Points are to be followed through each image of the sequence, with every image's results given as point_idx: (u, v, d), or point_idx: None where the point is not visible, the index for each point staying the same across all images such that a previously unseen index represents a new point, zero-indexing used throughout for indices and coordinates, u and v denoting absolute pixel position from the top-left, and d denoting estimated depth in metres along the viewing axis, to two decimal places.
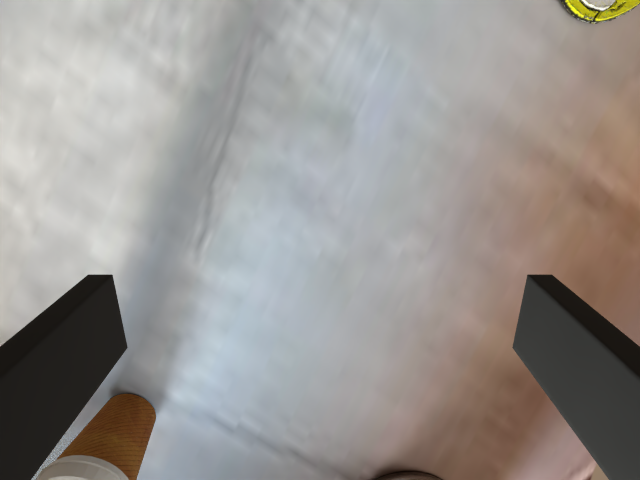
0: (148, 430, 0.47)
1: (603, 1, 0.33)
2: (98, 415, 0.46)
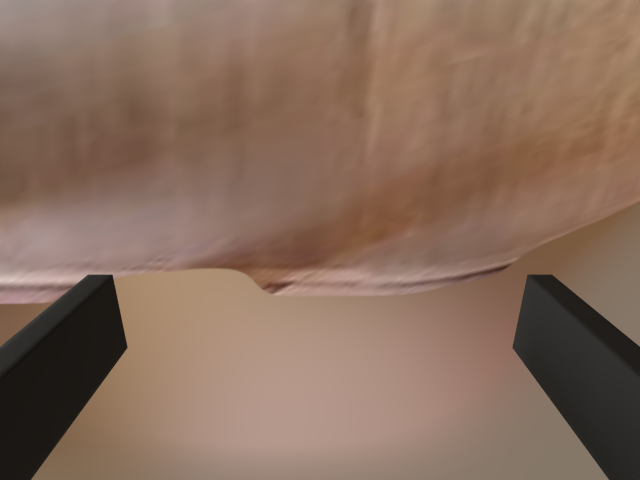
0: None
1: None
2: None
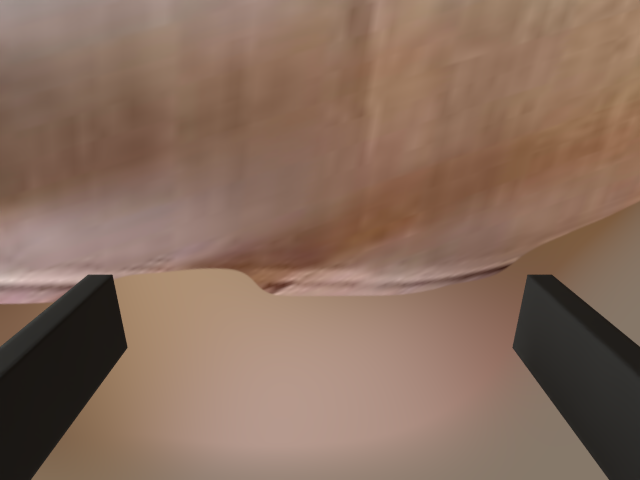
0: None
1: None
2: None
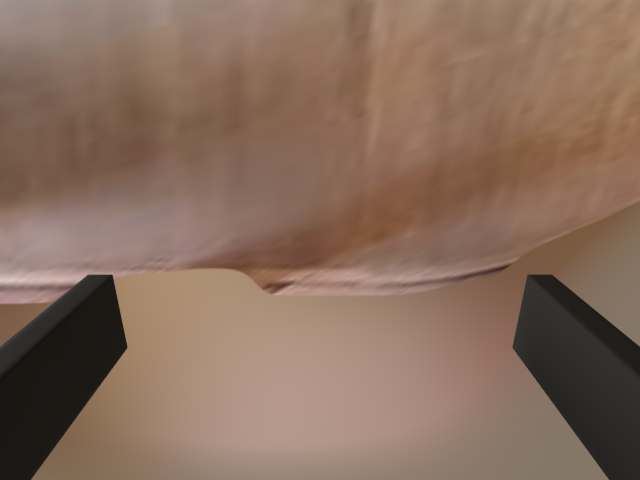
0: None
1: None
2: None
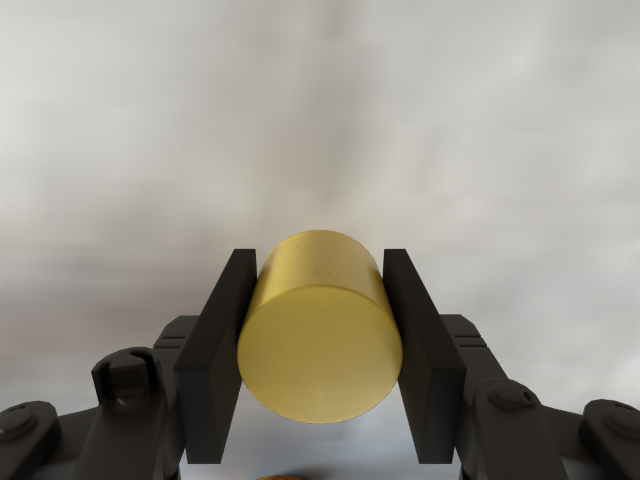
0: None
1: None
2: None
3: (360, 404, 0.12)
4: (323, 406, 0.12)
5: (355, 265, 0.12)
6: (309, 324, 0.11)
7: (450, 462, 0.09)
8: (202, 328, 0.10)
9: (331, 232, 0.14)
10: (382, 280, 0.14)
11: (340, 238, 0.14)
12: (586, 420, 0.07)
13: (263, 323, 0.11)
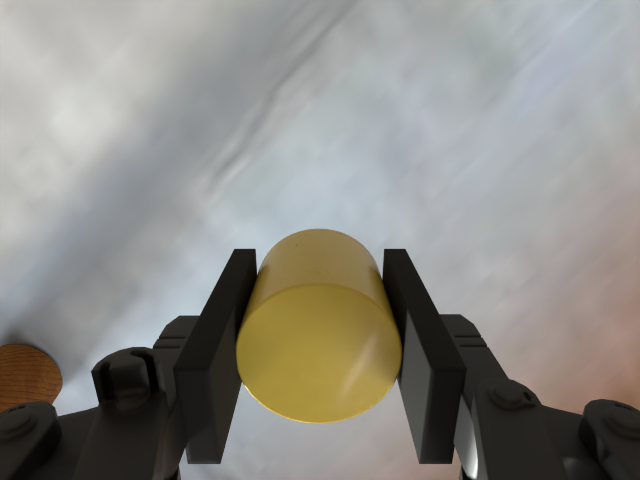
0: None
1: None
2: None
3: (359, 404, 0.12)
4: (322, 405, 0.12)
5: (354, 263, 0.12)
6: (307, 323, 0.11)
7: (450, 462, 0.09)
8: (202, 328, 0.10)
9: (330, 231, 0.14)
10: (381, 279, 0.14)
11: (339, 237, 0.14)
12: (586, 420, 0.07)
13: (261, 322, 0.11)
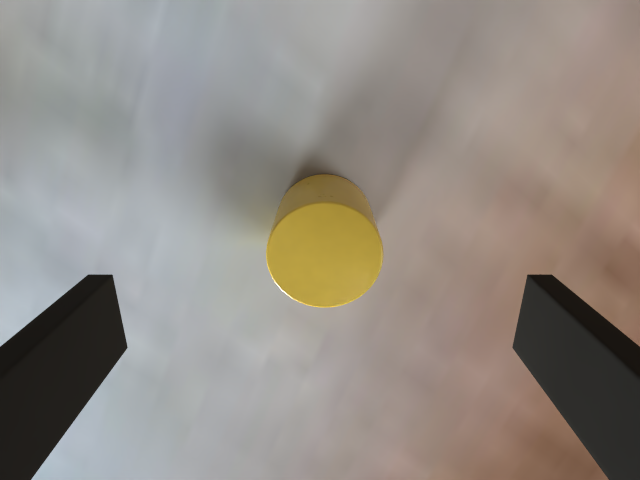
0: None
1: None
2: None
3: (353, 292, 0.17)
4: (327, 293, 0.17)
5: (350, 194, 0.17)
6: (317, 230, 0.15)
7: None
8: None
9: (333, 175, 0.19)
10: None
11: (340, 180, 0.18)
12: None
13: (285, 230, 0.15)
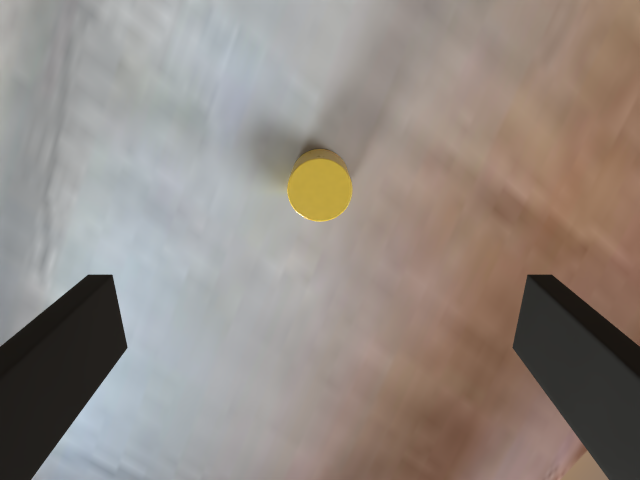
0: None
1: None
2: None
3: (336, 211, 0.29)
4: (321, 212, 0.29)
5: (334, 157, 0.30)
6: (316, 175, 0.28)
7: None
8: None
9: (325, 149, 0.32)
10: None
11: (329, 151, 0.31)
12: None
13: (298, 174, 0.28)
